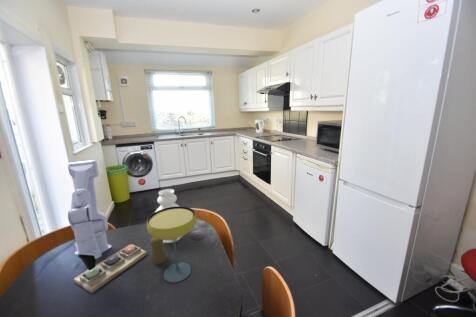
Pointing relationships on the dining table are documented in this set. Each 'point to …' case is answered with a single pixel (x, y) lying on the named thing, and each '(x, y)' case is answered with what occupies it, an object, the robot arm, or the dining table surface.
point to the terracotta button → (129, 249)
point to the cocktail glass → (173, 235)
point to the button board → (110, 269)
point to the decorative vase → (167, 204)
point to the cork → (157, 251)
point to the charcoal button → (112, 260)
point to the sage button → (92, 273)
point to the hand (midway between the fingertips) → (91, 268)
